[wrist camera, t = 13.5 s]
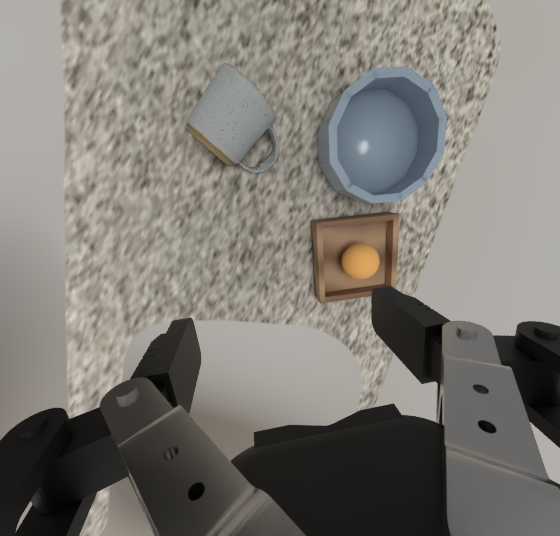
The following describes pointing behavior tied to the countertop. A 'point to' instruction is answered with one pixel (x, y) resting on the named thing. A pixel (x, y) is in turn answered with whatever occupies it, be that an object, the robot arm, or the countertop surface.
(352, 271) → the ball
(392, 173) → the faceted grey bowl
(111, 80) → the countertop surface
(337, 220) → the tray
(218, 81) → the ceramic mug
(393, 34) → the countertop surface
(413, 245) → the countertop surface
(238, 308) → the countertop surface
